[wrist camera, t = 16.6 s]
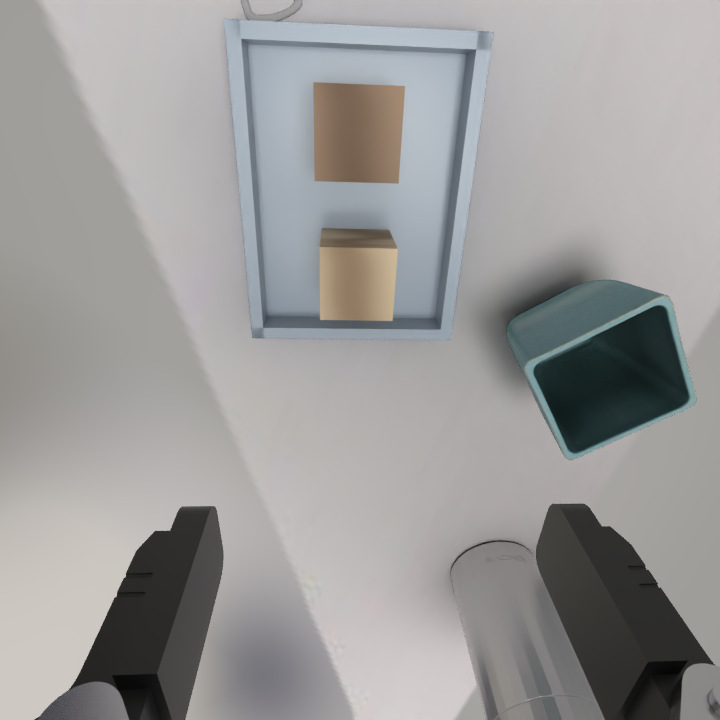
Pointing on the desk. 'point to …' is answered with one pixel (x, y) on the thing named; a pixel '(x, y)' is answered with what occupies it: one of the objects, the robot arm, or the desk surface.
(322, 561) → the desk surface
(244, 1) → the key chain
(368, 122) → the walnut block
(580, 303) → the flower pot
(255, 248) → the tray
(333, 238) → the oak block
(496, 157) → the desk surface
